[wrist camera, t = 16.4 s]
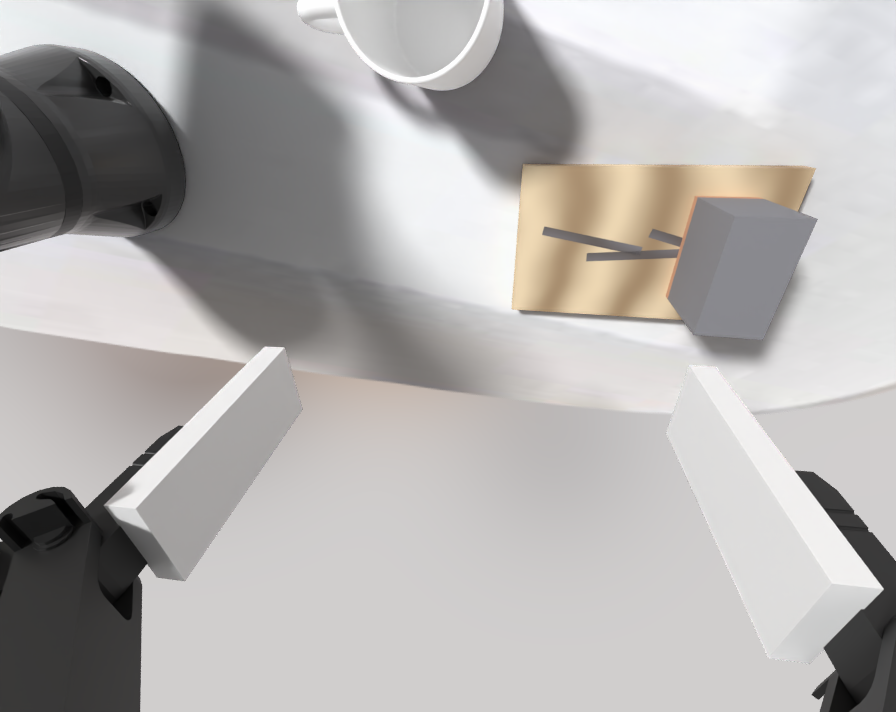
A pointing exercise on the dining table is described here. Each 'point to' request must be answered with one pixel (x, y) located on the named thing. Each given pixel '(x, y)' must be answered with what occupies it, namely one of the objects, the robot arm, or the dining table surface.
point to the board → (621, 230)
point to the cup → (414, 36)
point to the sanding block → (736, 264)
